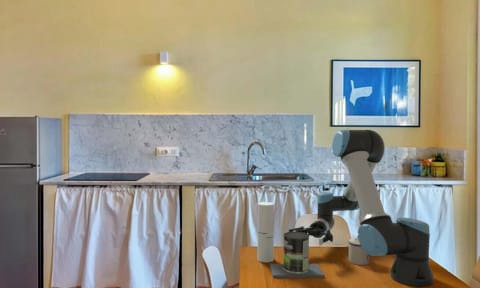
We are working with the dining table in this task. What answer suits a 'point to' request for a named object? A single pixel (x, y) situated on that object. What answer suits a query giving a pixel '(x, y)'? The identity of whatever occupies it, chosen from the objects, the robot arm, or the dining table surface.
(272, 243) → the cylindrical container
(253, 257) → the dining table surface
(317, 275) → the slate board
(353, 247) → the teacup with lid
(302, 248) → the coffee can
